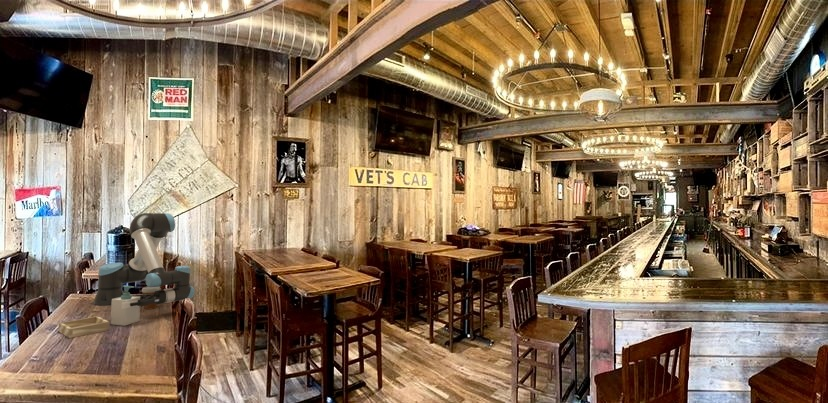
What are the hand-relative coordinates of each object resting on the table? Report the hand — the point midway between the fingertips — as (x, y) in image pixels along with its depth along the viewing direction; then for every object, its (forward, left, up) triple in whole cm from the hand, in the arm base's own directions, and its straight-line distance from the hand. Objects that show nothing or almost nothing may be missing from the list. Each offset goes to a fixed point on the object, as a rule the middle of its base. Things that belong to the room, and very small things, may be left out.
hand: (117, 303), depth 199 cm
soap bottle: (0, +4, -11) cm, 11 cm away
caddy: (0, -13, -10) cm, 17 cm away
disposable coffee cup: (-21, +24, -11) cm, 34 cm away
